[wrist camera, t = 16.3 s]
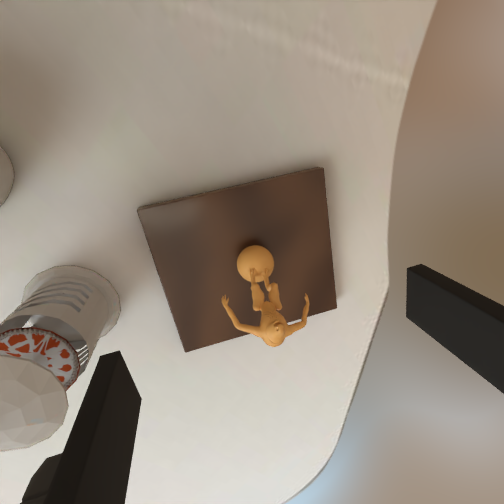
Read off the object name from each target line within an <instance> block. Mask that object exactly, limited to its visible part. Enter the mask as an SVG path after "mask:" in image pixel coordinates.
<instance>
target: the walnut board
mask: <svg viewBox="0 0 504 504" xmlns="http://www.w3.org/2000/svg"><path fill="white" fill-rule="evenodd" d="M137 212H138V215H139V218H140V221H141V224H142V227H143V230H144V233H145V236H146V239H147V242H148V245H149V248H150V251H151V254H152V256H153V259H154V262H155V265H156V268H157V271H158V274H159V277H160V280H161V283H162V286H163V289H164V292H165V295H166V298H167V301H168V304H169V307H170V310H171V313H172V315H173V318H174V321H175V324H176V327H177V330H178V333H179V336H180V339H181V342H182V345H183V348H184V351H185V352H189V351H192V350H196V349H199V348H202V347H206V346H209V345H213V344H216V343H220V342H223V341H226V340H230V339H233V338H237V337H240V336H244V335H247V334H250V333H247V332H244V331H241V330H238V329H237V328H236V327H235V326H234V324H233V321H232V320H231V318H230V316H229V315H228V313H227V311H226V309H225V308H224V306H223V304H222V300H223V298H222V297H223V296H224V299H225V295H226V301H227V299H228V298H229V301H228V306H229V307H230V308H231V309H232V311H233V312H234V314H235V316H236V318H237V319H238V321H239V322H240V324H246V325H251V326H256V327H257V326H260V321H261V316H262V314H261V310H259V311H255V310H254V309H253V299H252V290H251V282H250V281H247V280H245V279H244V278H243V277H242V276H241V275H240V273H239V271H238V269H237V259H238V256H239V254H240V253H241V252H242V251H243V250H244V249H245V248H247V247H249V246H253V245H258V246H262V247H264V248H266V249H267V250H268V251H269V252H270V253H271V255H272V257H273V260H274V268H273V271H272V273H271V275H270V276H269V277H268V278H269V284H271V283H276V284H277V285H278V290H279V298H280V302H281V305H282V309H281V310H276V311H278V313H280V314H281V315H282V316H283V317H284V319H285V320H286V322H287V323H288V322H291V321H295V320H298V319H302V315H303V309H304V307H305V305H306V300H305V297H306V295H305V293H306V294H307V295H308V299H309V311H308V314H307V317H309V316H312V315H315V314H319V313H322V312H326V311H329V310H333V309H336V308H337V303H336V293H335V282H334V272H333V261H332V251H331V240H330V230H329V219H328V209H327V198H326V188H325V177H324V168H320V167H316V168H312V169H307V170H303V171H298V172H294V173H289V174H285V175H280V176H276V177H271V178H267V179H263V180H258V181H254V182H249V183H245V184H240V185H236V186H231V187H227V188H222V189H218V190H214V191H209V192H205V193H200V194H196V195H191V196H187V197H182V198H178V199H173V200H169V201H164V202H160V203H156V204H151V205H147V206H142V207H139V208H138V209H137ZM256 283H257V284H258V285H259V286H260V289H261V290H262V291H263V293H264V302H265V301H269V302H270V300H269V297H268V294H269V291H267V289H266V287H265V283H264V281H261V282H256ZM221 298H222V300H221Z"/></svg>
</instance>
